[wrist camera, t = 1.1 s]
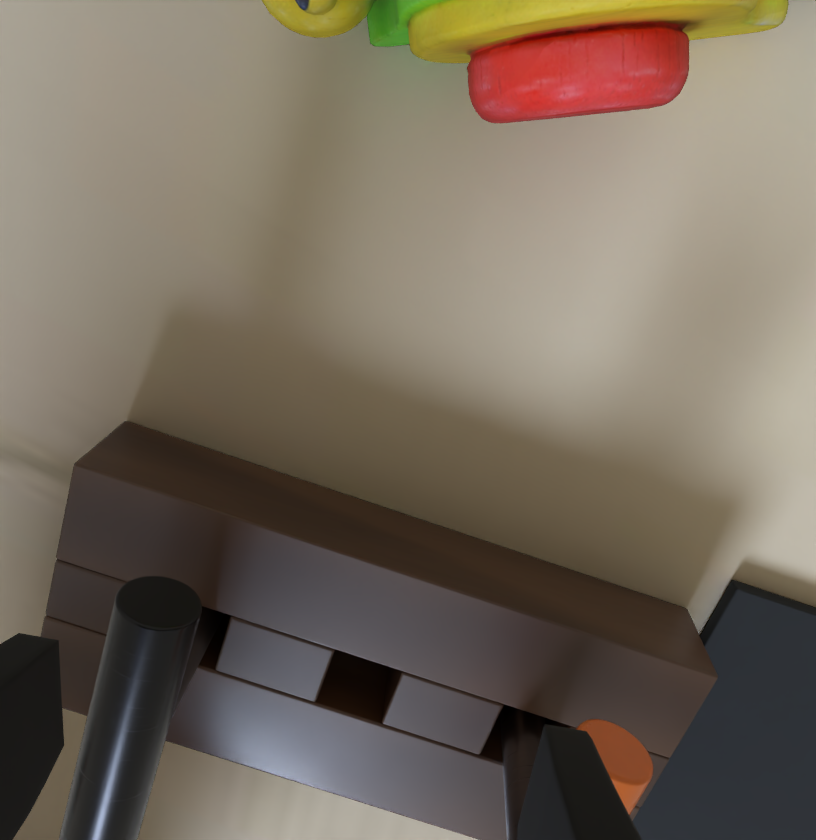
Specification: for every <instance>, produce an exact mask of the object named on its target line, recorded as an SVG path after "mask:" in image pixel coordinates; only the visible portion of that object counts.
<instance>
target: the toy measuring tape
mask: <svg viewBox="0 0 816 840" xmlns="http://www.w3.org/2000/svg"><path fill="white" fill-rule="evenodd" d="M262 1H263V3H264V5H265V6H266V8H267V9H268V11H269V13H270V14H271V15H272V16H274V17H275V18H276V19H277V20H278V21H279V22H280V23H281V24H283V25H284V26H285V27H287V28H288V29H290V30H292V31H294V32H297V33H299V34H301V35H305V36H310V37H330V36H335V35H339V34H342V33H345V32H347V31H349V30H351V29H352V28H353V27H355V26H356V25H357V24H358V23H360V22H361V21H362V20H363V19H364V18H365V17H366V16H367V21H368V29H369V37H370V43H371V44H372V45H374V46H398V45H407V44H409V45H410V49H411V51H412V53H413V54H414V55H416V56H417V57H419V58H421V59H424V60H427V61H432V62H440V63H469V64H468V67H467V70H468V84H469V95H470V98H471V102H472V105H473V107H474V109H475V111H476V112H477V113H478V114H479V115H480V117H481V118H482V119H484V120H486V121H488V122H491V123H510V122H520V121H531V120H541V119H552V118H562V117H571V116H581V115H591V114H600V113H610V112H619V111H628V110H637V109H648V108H653V107H657V106H662V105H665V104H667V103H669V102H670V101H672V100H673V99H674V98H675V97H676V96H677V95H678V94H680V92H681V90H682V88H683V86H684V84H685V82H686V79H687V76H688V71H689V40H695V39H704V38H712V37H721V36H730V35H738V34H746V33H754V32H760V31H765V30H769V29H772V28H775V27H777V26H779V25H780V24H782V22H783V21H784V19H785V17H786V14H787V10H788V0H262Z"/></svg>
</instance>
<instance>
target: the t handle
mask: <svg viewBox="0 0 816 840" xmlns="http://www.w3.org/2000/svg"><path fill="white" fill-rule="evenodd" d="M500 723H501V741H502V759H503V777H504V795H505V813H506V830H507V840H517V834H518V822H519V819H520V815H521V811H522V807H523V803H524V800H525V796H526V792H527V788H528V784H529V781H530V777H531V773H532V769H533V765H534V762H535V758H536V754H537V750H538V746H539V743H540V739H541V735H542V731H543V727H544V724H545V717H542V716H539V715H536V714H532V713H529V712H526V711H523V710H520V709H517V708H514V707H511V706H508V705H505V704H503V708H502V710H501V712H500ZM576 730H582V731H587V733H588V734H589V735H590V737H591V738H592V740H593V742H594V744H595V746H596V748H597V751H598V753H599V755H600V757H601V759H602V761H603V763H604V766H605V768H606V770H607V772H608V774H609V776H610V778H611V780H612V782H613V784H614V786H615V788H616V790H617V792H618V794H619V796H620V798H621V800H622V802H623V804H624V806H625V808H626V810H627V812H628V814H629V816H630V814H631V812H632V811H633V809H634V807H635V806H636V804H637V802H638V801H639V799H640V797H641V795H642V794H643V792H644V790H645V789H646V787H647V785H648V784H649V782H650V780H651V778H652V776H653V763H652V760H651V757H650V755H649V753H648V752H647V750H646V749H645V747H644V746H643V745H642V744H641V742H640V741H639V740H638V739H637V738H636V737H634V736H633V735H632V734H631V733H629V732H628V731H627V730H625V729H624V728H622V727H620V726H618V725H616V724H614V723H612V722H609V721H605V720H601V719H590V720H586V721H584V722H583V723H581V724H580V725H579V726H578V727H577V728H576Z"/></svg>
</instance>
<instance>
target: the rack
mask: <svg viewBox="0 0 816 840" xmlns="http://www.w3.org/2000/svg"><path fill="white" fill-rule="evenodd" d="M56 558H57V560H56V563H55V568H54V573H53V578H52V583H51V588H50V593H49V598H48V603H47V609H46V616H45V618H44V623H43V628H42V633H41V637H44V638H49V639H55V640H59V656H60V676H61V696H62V708H64V709H67V710H70V711H74V712H77V713H80V714H83V715H86V716H88V712H89V707H90V703H91V699H92V695H93V690H94V686H95V682H96V677H97V673H98V669H99V664H100V660H101V656H102V652H103V647H104V643H105V639H106V634H107V630H108V626H109V621H110V617H111V613H112V609H113V604H114V600H115V596H116V593H117V592H118V590H119V589H120V588H121V587H122V586H123V585H124V584H125V583H127V582H128V581H130V580H133V579H135V578H139V577H144V576H163V577H168V578H172V579H175V580H178V581H180V582H183V583H184V584H186V585H188V586H189V587H191V588H192V589H193V590H194V591H195V592H196V593H197V594H198V596H199V598H200V600H201V604H202V606H203V607H206V608H209V609H212V610H216V611H219V612H222V613H225V614H224V616H223V618H222V620H221V622H220V624H219V626H218V628H217V630H216V632H215V634H214V636H213V638H212V639H211V641H210V643H209V645H208V647H207V649H206V651H205V653H204V655H203V657H202V659H201V661H200V663H199V665H198V667H197V669H196V671H195V673H194V675H193V677H192V679H191V681H190V683H189V685H188V687H187V689H186V691H185V693H184V695H183V697H182V699H181V701H180V703H179V705H178V707H177V709H176V711H175V713H174V715H173V717H172V719H171V722H170V726H169V729H168V733H167V736H166V740H165V741H169V742H172V743H175V744H178V745H181V746H184V747H188V748H191V749H194V750H197V751H200V752H203V753H207V754H210V755H213V756H216V757H219V758H222V759H226V760H229V761H232V762H235V763H238V764H241V765H245V766H248V767H251V768H254V769H257V770H260V771H264V772H267V773H270V774H273V775H276V776H279V777H283V778H286V779H289V780H292V781H295V782H298V783H302V784H305V785H308V786H311V787H314V788H317V789H321V790H324V791H327V792H330V793H333V794H336V795H340V796H343V797H346V798H349V799H352V800H355V801H359V802H362V803H365V804H368V805H371V806H374V807H378V808H381V809H384V810H387V811H390V812H393V813H397V814H400V815H403V816H406V817H409V818H412V819H416V820H419V821H422V822H425V823H428V824H431V825H435V826H438V827H441V828H444V829H447V830H450V831H454V832H457V833H460V834H463V835H466V836H469V837H473V838H476V839H479V840H507V830H506V813H505V795H504V777H503V759H502V741H501V723H500V712H501V710H502V708H503V704H505V705H508V706H511V707H514V708H517V709H520V710H523V711H526V712H529V713H532V714H536V715H539V716H542V717H545V724H547V725H553V726H559V727H565V728H570V729H576V728H577V727H578V726H579V725H580V724H581V723H583V722H584V721H586V720H590V719H601V720H605V721H609V722H612V723H614V724H616V725H618V726H620V727H622V728H624V729H625V730H627V731H628V732H629V733H631V734H632V735H633V736H634V737H636V738H637V739H638V740H639V741H640V742H641V744H642V745H643V746H644V747H645V749H646V750H647V752H648V753H649V755H650V757H651V760H652V763H653V776H652V778H651V780H650V782H649V784H648V785H647V787H646V789H645V790H644V792H643V794H642V795H641V797H640V799H639V801H638V802H637V804H636V806H635V807H634V809H633V811H632V812H631V814H630V818H631V820H632V821H633V819H634V818H635V816H636V814H637V813H638V811H639V808H640V807H641V806H642V805H643V803H644V801H645V800H646V798H647V796H648V795H649V793H650V791H651V790H652V788H653V786H654V785H655V783H656V781H657V780H658V778H659V776H660V775H661V773H662V771H663V770H664V768H665V766H666V765H667V763H668V761H669V758H670V757H671V756H672V754H673V753H674V751H675V749H676V748H677V746H678V744H679V743H680V741H681V739H682V737H683V736H684V734H685V732H686V731H687V729H688V727H689V726H690V724H691V722H692V721H693V719H694V717H695V716H696V714H697V712H698V711H699V709H700V707H701V706H702V704H703V702H704V701H705V699H706V697H707V696H708V694H709V692H710V691H711V689H712V687H713V685H714V684H715V682H716V680H717V679H718V675H717V673H716V671H715V668H714V666H713V664H712V662H711V660H710V658H709V655H708V653H707V651H706V649H705V647H704V645H703V642H702V640H701V638H700V636H699V634H698V632H697V629H696V627H695V625H694V623H693V621H692V618H691V616H690V614H689V612H688V610H687V609H686V608H683V607H680V606H677V605H674V604H671V603H668V602H665V601H662V600H659V599H656V598H653V597H650V596H647V595H644V594H641V593H638V592H635V591H632V590H629V589H626V588H623V587H620V586H617V585H614V584H611V583H608V582H605V581H602V580H599V579H596V578H593V577H590V576H587V575H584V574H581V573H578V572H575V571H572V570H569V569H566V568H563V567H560V566H558V565H555V564H552V563H549V562H546V561H543V560H540V559H537V558H534V557H531V556H528V555H525V554H522V553H519V552H516V551H513V550H510V549H507V548H504V547H501V546H498V545H495V544H492V543H489V542H486V541H483V540H480V539H477V538H474V537H471V536H468V535H465V534H462V533H459V532H456V531H453V530H450V529H447V528H444V527H441V526H438V525H435V524H432V523H429V522H426V521H423V520H420V519H417V518H414V517H411V516H408V515H405V514H402V513H399V512H396V511H393V510H390V509H387V508H384V507H381V506H378V505H375V504H372V503H369V502H366V501H363V500H360V499H357V498H354V497H352V496H349V495H346V494H343V493H340V492H337V491H334V490H331V489H328V488H325V487H322V486H319V485H316V484H313V483H310V482H307V481H304V480H301V479H298V478H295V477H292V476H289V475H286V474H283V473H280V472H277V471H274V470H271V469H268V468H265V467H262V466H259V465H256V464H253V463H250V462H247V461H244V460H241V459H238V458H235V457H232V456H229V455H226V454H223V453H220V452H217V451H214V450H211V449H208V448H205V447H202V446H199V445H196V444H193V443H190V442H187V441H184V440H181V439H178V438H175V437H172V436H169V435H166V434H163V433H160V432H157V431H154V430H151V429H148V428H146V427H143V426H140V425H137V424H134V423H131V422H128V421H125V422H123V423H122V424H121V425H120V426H119V427H117V428H116V429H115V430H114V431H113V432H112V433H110V434H109V435H108V436H107V437H106V438H104V439H103V440H102V441H101V442H100V443H98V444H97V445H96V446H95V447H94V448H92V449H91V450H90V451H89V452H88V453H87V454H85V455H84V456H83V457H82V458H81V459H79V460H78V461H77V462H76V463H75V464H74V468H73V473H72V478H71V483H70V489H69V494H68V499H67V504H66V509H65V514H64V519H63V524H62V529H61V535H60V540H59V545H58V550H57V555H56Z"/></svg>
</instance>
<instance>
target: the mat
mask: <svg viewBox="0 0 816 840" xmlns="http://www.w3.org/2000/svg"><path fill="white" fill-rule="evenodd" d="M700 638H701V640H702V642H703V645H704V647H705V649H706V651H707V653H708V655H709V658H710V660H711V662H712V664H713V666H714V668H715V671H716V673H717V675H718V679H717V680H716V682H715V684H714V685H713V687H712V689H711V691H710V692H709V694H708V696H707V697H706V699H705V701H704V702H703V704H702V706H701V707H700V709H699V711H698V712H697V714H696V716H695V717H694V719H693V721H692V722H691V724H690V726H689V727H688V729H687V731H686V732H685V734H684V736H683V737H682V739H681V741H680V743H679V744H678V746H677V748H676V749H675V751H674V753H673V754H672V756H671V757H670V758H669V761H668V763H667V765H666V766H665V768H664V770H663V771H662V773H661V775H660V776H659V778H658V780H657V781H656V783H655V785H654V786H653V788H652V790H651V791H650V793H649V795H648V796H647V798H646V800H645V801H644V803H643V805H642V806H641V807H640V808H639V811H638V813H637V814H636V816H635V818H634V819H633V821H632V822H633V823H634V825H635V827H636V829H637V831H638V833H639V835H640V837H641V838H642V840H816V608H815V607H812V606H809V605H806V604H803V603H800V602H797V601H794V600H791V599H788V598H785V597H782V596H779V595H776V594H773V593H770V592H767V591H765V590H762V589H759V588H756V587H753V586H750V585H747V584H744V583H741V582H738V581H735V580H732V581H731V583H730V585H729V586H728V588H727V590H726V592H725V593H724V595H723V597H722V599H721V600H720V602H719V604H718V606H717V607H716V609H715V611H714V613H713V614H712V616H711V618H710V620H709V621H708V623H707V625H706V627H705V628H704V630H703V632H702V634H701V635H700Z"/></svg>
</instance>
